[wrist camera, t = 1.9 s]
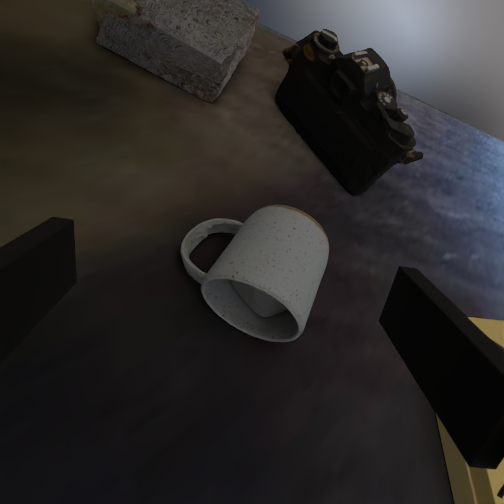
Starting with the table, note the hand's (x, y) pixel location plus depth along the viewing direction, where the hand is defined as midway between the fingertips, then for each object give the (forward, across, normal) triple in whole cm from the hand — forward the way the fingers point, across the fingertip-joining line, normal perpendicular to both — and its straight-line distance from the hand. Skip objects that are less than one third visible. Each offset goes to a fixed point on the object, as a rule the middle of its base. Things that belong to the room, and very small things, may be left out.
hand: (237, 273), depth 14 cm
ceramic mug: (+13, +1, -7) cm, 15 cm away
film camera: (+30, +10, +5) cm, 32 cm away
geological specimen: (+31, -9, +10) cm, 34 cm away
